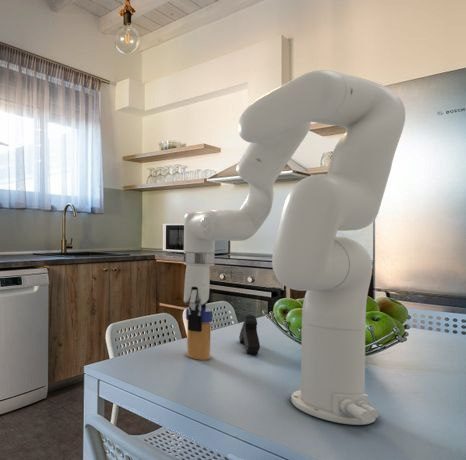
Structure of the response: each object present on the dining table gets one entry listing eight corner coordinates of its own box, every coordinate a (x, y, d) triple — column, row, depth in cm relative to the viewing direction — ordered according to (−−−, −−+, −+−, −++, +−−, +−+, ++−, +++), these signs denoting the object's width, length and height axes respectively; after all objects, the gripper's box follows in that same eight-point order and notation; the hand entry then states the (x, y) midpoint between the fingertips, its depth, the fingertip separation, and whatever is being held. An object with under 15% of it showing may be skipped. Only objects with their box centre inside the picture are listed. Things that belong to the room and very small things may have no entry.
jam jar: (213, 360, 101) (214, 314, 101) (191, 359, 101) (192, 314, 101) (204, 353, 107) (205, 310, 107) (183, 353, 107) (184, 309, 107)
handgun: (248, 347, 104) (244, 312, 109) (241, 364, 114) (238, 331, 120) (260, 348, 103) (256, 312, 109) (252, 366, 113) (248, 332, 119)
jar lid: (183, 320, 103) (183, 309, 103) (189, 316, 108) (189, 305, 108) (209, 323, 100) (209, 312, 100) (214, 319, 105) (214, 308, 105)
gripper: (190, 256, 113) (189, 319, 114) (176, 260, 98) (175, 333, 99) (218, 258, 110) (217, 323, 110) (208, 262, 95) (207, 337, 95)
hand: (197, 327), depth 104 cm, fingers open, 6 cm apart
